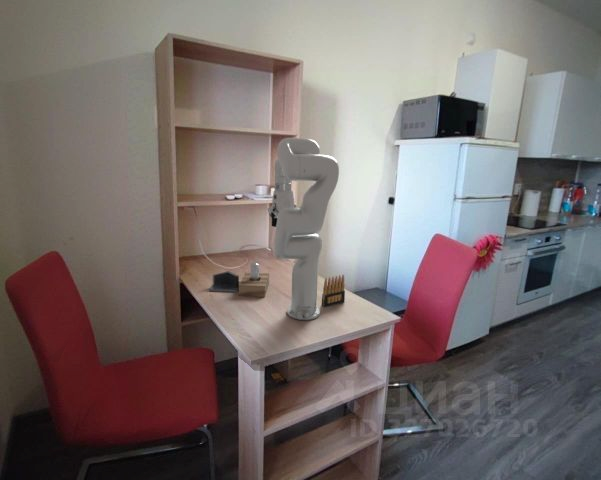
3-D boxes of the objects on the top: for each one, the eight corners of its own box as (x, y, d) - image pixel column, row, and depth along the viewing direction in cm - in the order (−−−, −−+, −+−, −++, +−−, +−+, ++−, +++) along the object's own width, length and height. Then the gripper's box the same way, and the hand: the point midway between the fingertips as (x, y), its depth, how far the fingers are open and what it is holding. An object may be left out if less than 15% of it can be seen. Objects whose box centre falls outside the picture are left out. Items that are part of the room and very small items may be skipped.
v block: (209, 291, 154) (209, 278, 153) (215, 282, 164) (215, 270, 163) (237, 292, 154) (237, 279, 152) (241, 283, 164) (241, 271, 163)
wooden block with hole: (264, 297, 150) (265, 285, 149) (239, 296, 150) (238, 284, 149) (269, 283, 165) (269, 273, 164) (245, 282, 166) (245, 272, 164)
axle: (258, 291, 156) (258, 265, 153) (250, 290, 156) (250, 264, 153) (259, 288, 159) (259, 262, 157) (251, 287, 159) (251, 262, 157)
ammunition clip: (341, 300, 149) (343, 273, 146) (344, 302, 148) (346, 274, 145) (321, 305, 143) (322, 277, 141) (324, 307, 142) (325, 279, 139)
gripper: (274, 189, 149) (274, 229, 153) (302, 187, 162) (301, 224, 166) (262, 187, 154) (262, 226, 158) (290, 186, 167) (289, 222, 171)
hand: (282, 225), depth 162 cm, fingers open, 9 cm apart
